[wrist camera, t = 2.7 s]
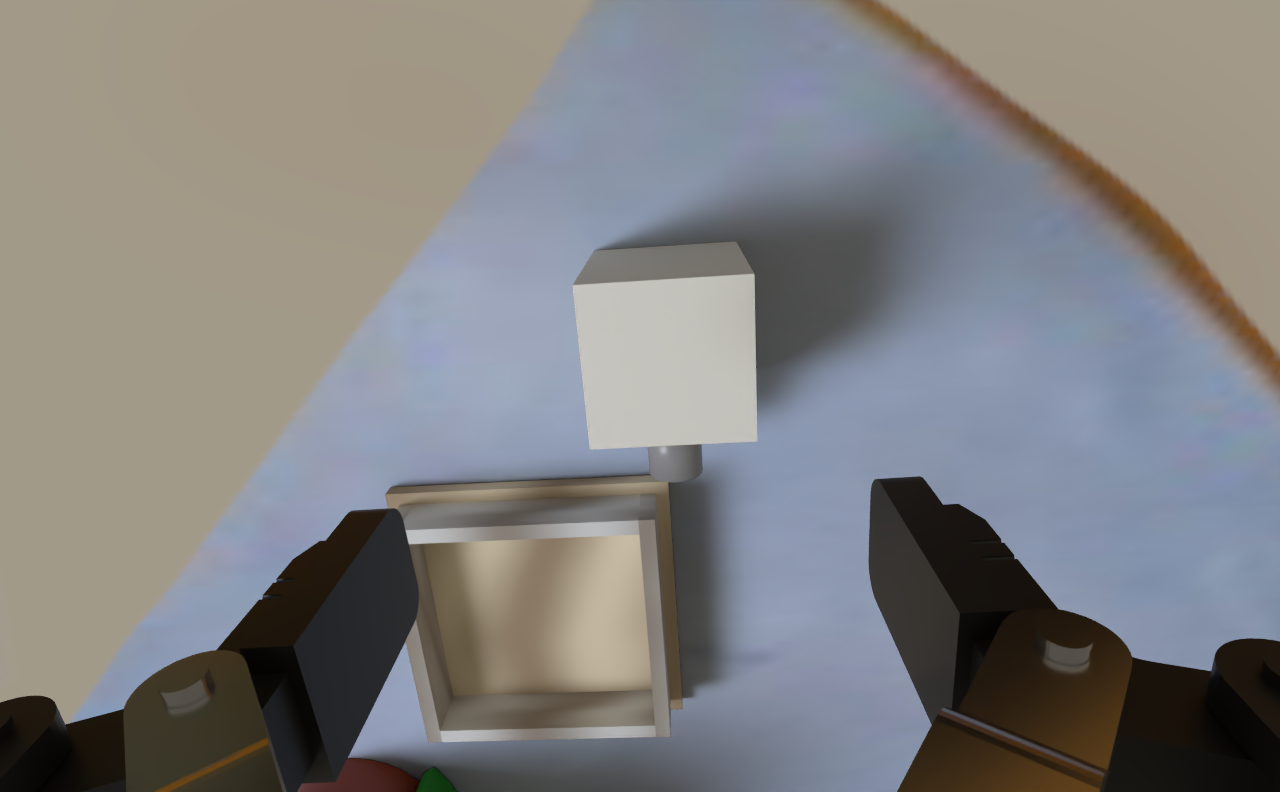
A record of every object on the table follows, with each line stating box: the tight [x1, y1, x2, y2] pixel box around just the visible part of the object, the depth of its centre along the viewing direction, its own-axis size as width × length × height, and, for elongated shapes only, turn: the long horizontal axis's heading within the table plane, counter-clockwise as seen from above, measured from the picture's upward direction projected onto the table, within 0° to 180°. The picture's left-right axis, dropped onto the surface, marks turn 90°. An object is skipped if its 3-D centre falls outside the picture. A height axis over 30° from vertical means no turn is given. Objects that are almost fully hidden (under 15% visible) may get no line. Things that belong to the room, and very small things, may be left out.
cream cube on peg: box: [573, 241, 757, 482], centre depth 24 cm, size 5×7×6 cm
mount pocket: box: [385, 475, 682, 742], centre depth 30 cm, size 11×11×3 cm
